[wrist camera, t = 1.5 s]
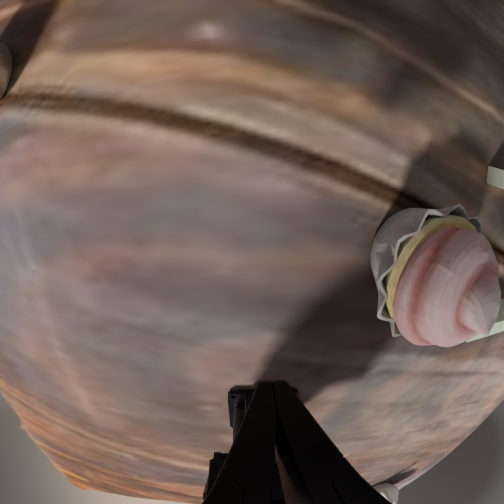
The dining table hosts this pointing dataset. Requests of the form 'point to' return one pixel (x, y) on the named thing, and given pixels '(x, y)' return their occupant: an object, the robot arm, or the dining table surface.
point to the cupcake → (435, 276)
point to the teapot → (388, 492)
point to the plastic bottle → (4, 68)
